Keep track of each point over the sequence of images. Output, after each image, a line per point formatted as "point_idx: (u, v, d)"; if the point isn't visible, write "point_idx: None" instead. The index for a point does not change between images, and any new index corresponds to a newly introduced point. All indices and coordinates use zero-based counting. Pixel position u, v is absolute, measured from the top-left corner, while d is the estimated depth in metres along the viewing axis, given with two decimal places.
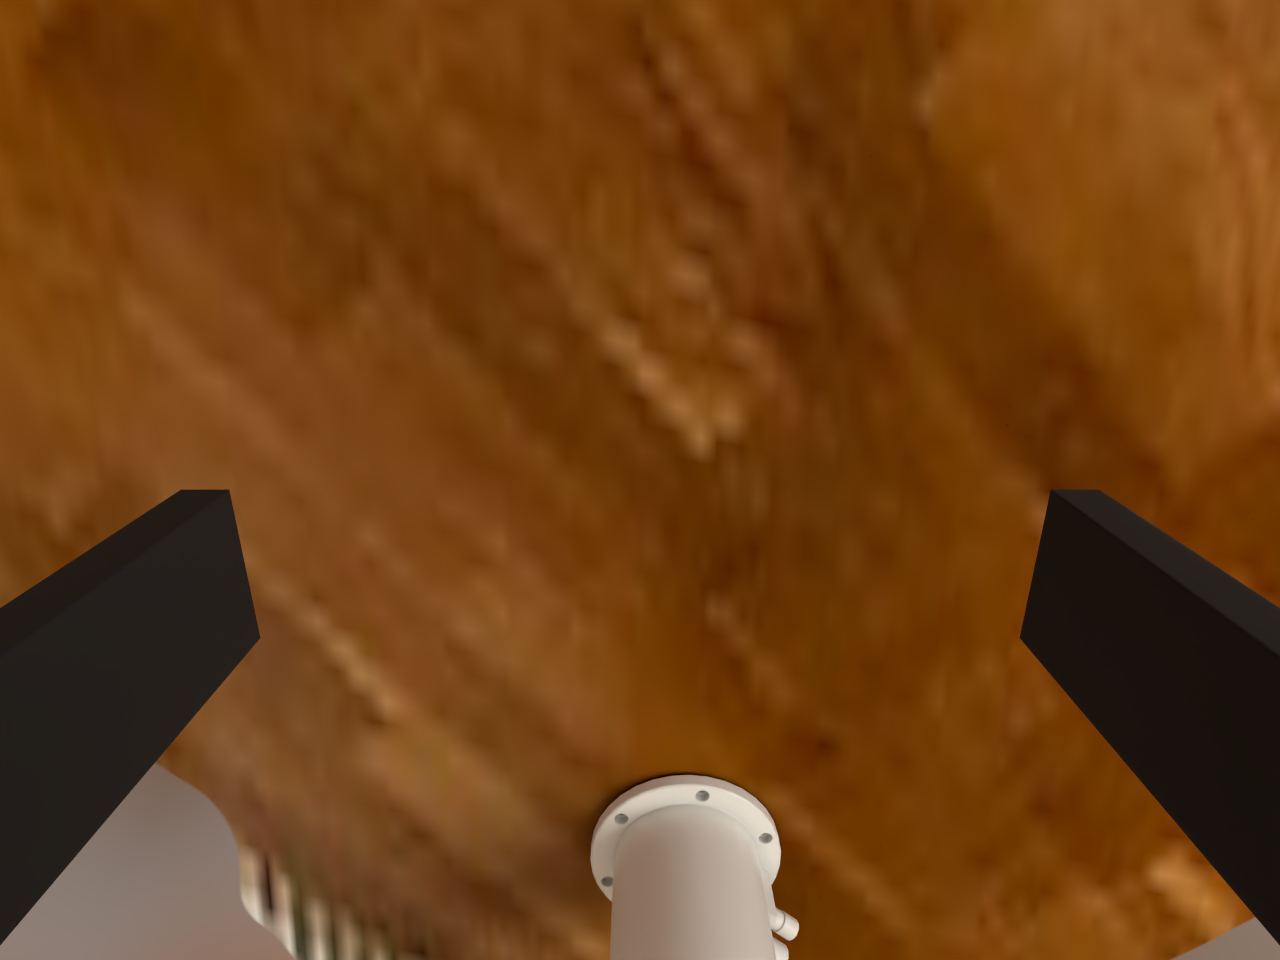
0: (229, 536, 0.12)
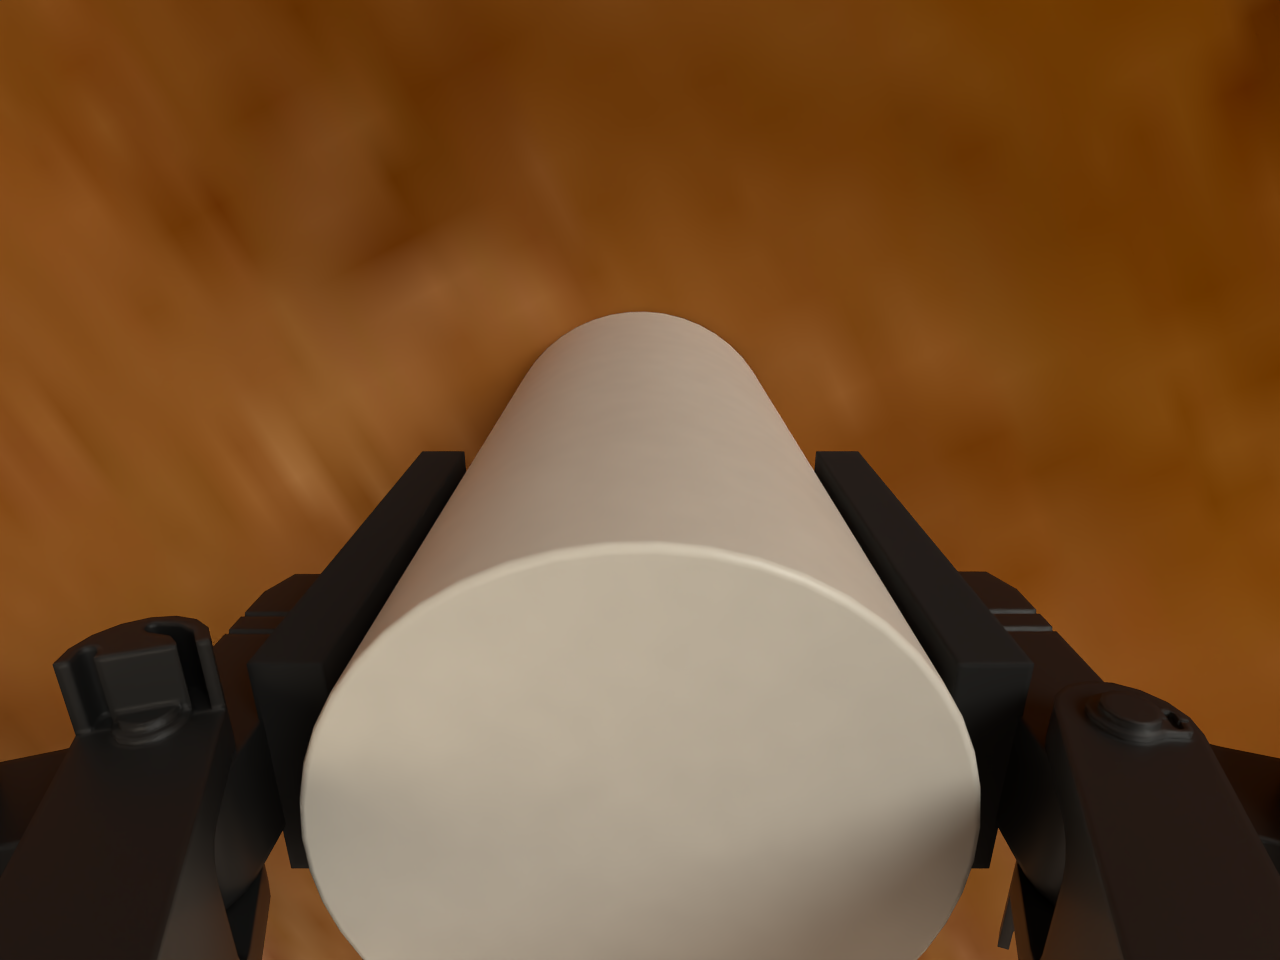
0: None
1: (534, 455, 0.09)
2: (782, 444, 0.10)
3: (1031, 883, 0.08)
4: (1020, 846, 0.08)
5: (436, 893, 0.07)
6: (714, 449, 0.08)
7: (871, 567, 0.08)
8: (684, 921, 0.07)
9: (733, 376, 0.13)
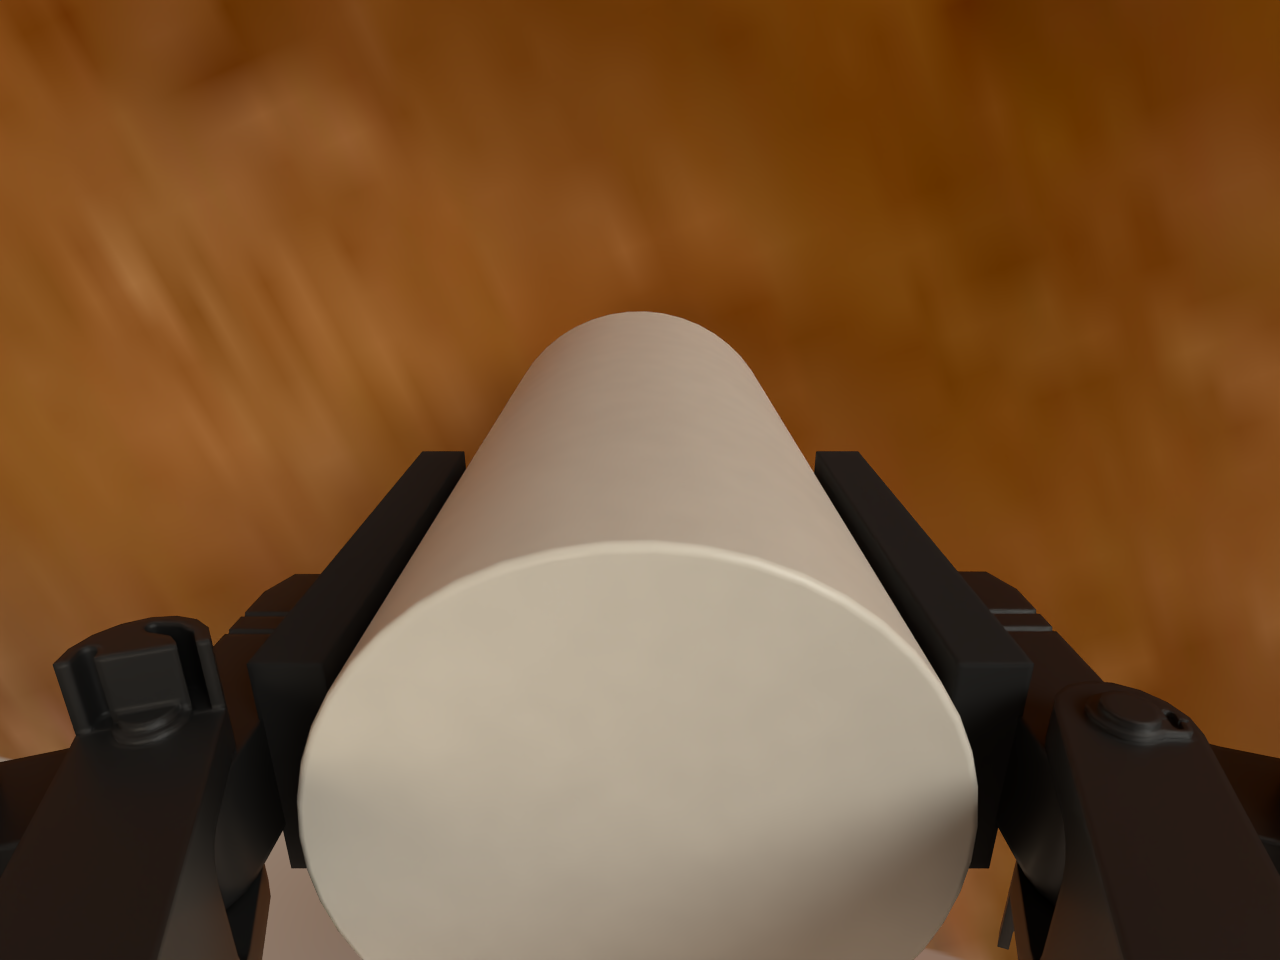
0: None
1: (531, 454, 0.09)
2: (780, 443, 0.10)
3: (1033, 883, 0.08)
4: (1020, 846, 0.08)
5: (435, 893, 0.07)
6: (712, 449, 0.08)
7: (869, 566, 0.08)
8: (682, 920, 0.07)
9: (732, 376, 0.13)
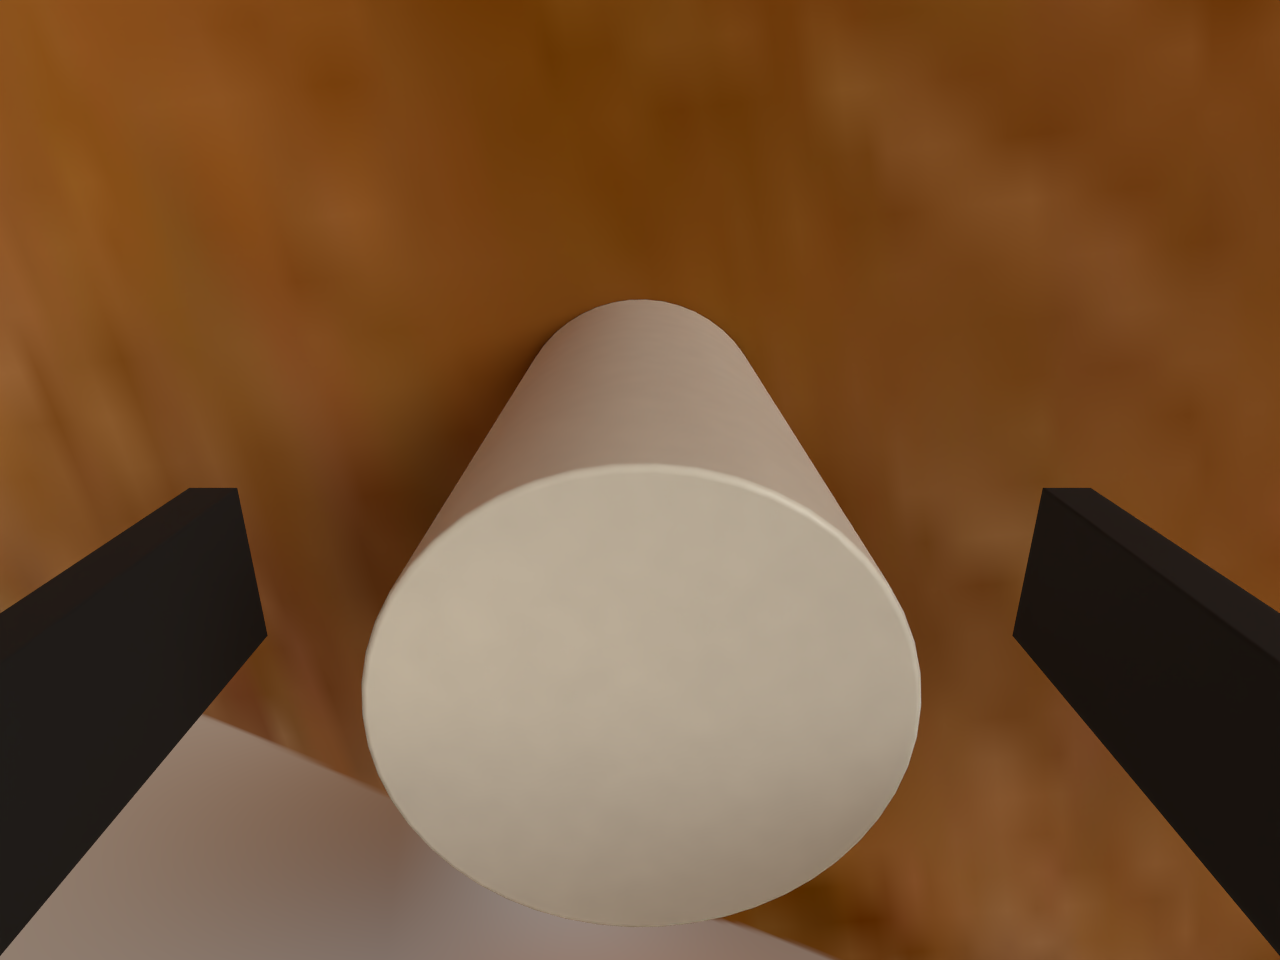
0: (236, 534, 0.12)
1: (551, 411, 0.10)
2: (764, 407, 0.12)
3: None
4: None
5: (473, 766, 0.09)
6: (704, 404, 0.10)
7: (836, 502, 0.10)
8: (678, 790, 0.09)
9: (724, 353, 0.15)
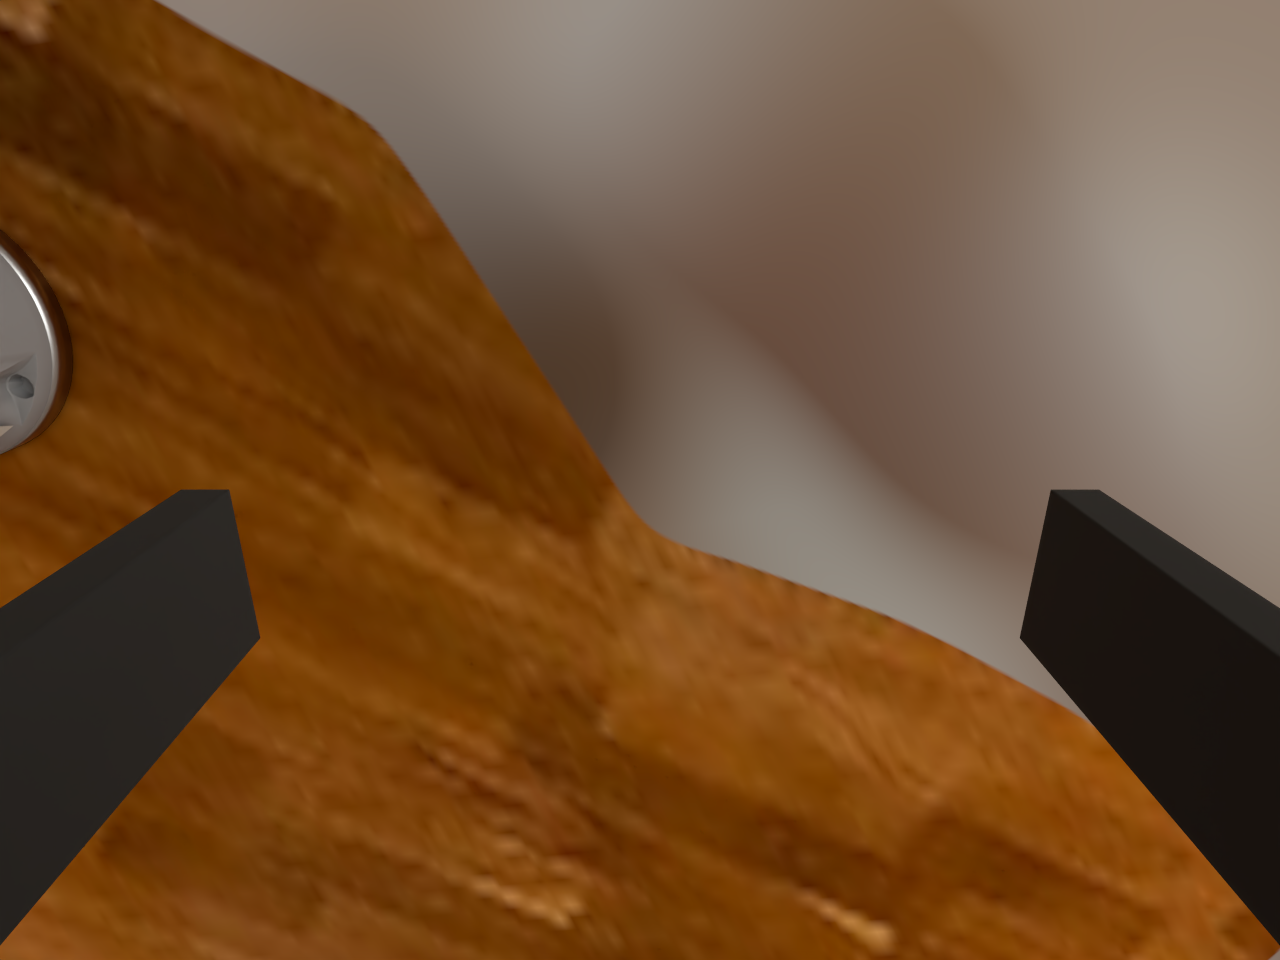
0: (228, 536, 0.12)
1: None
2: None
3: None
4: None
5: None
6: None
7: None
8: None
9: None
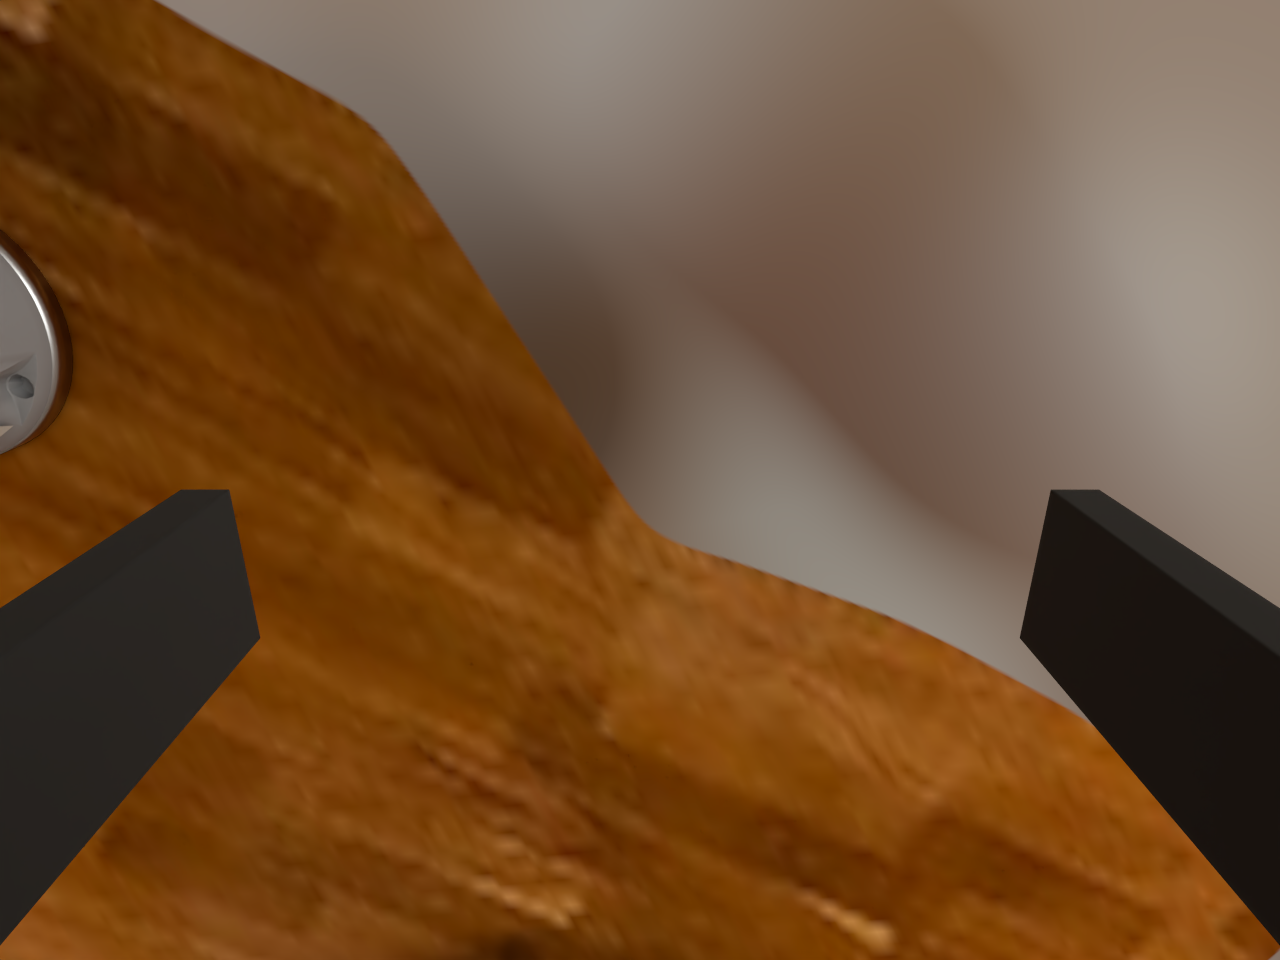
0: (228, 536, 0.12)
1: None
2: None
3: None
4: None
5: None
6: None
7: None
8: None
9: None
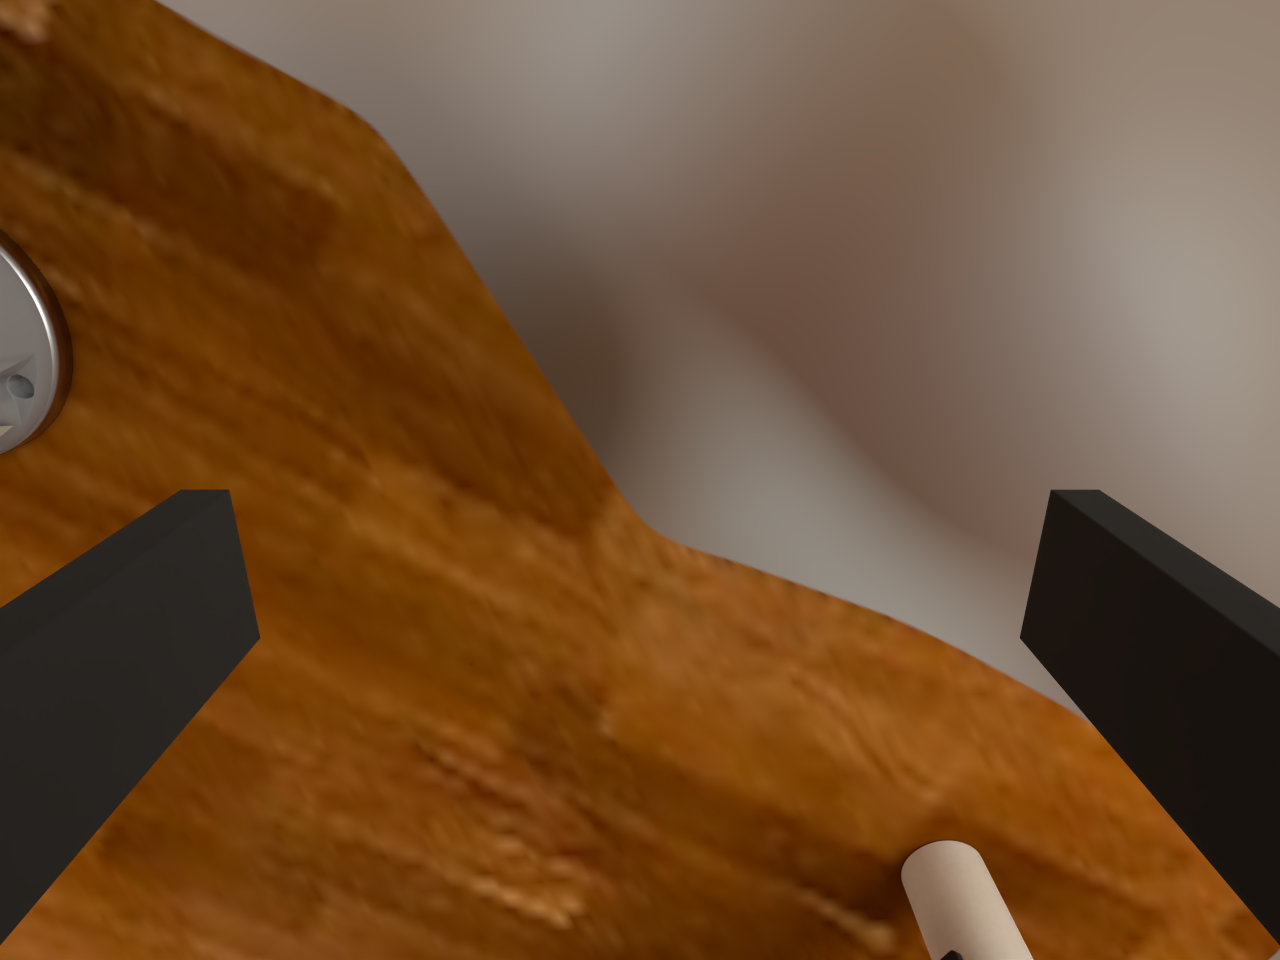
0: (228, 536, 0.12)
1: None
2: None
3: None
4: None
5: None
6: None
7: None
8: None
9: None
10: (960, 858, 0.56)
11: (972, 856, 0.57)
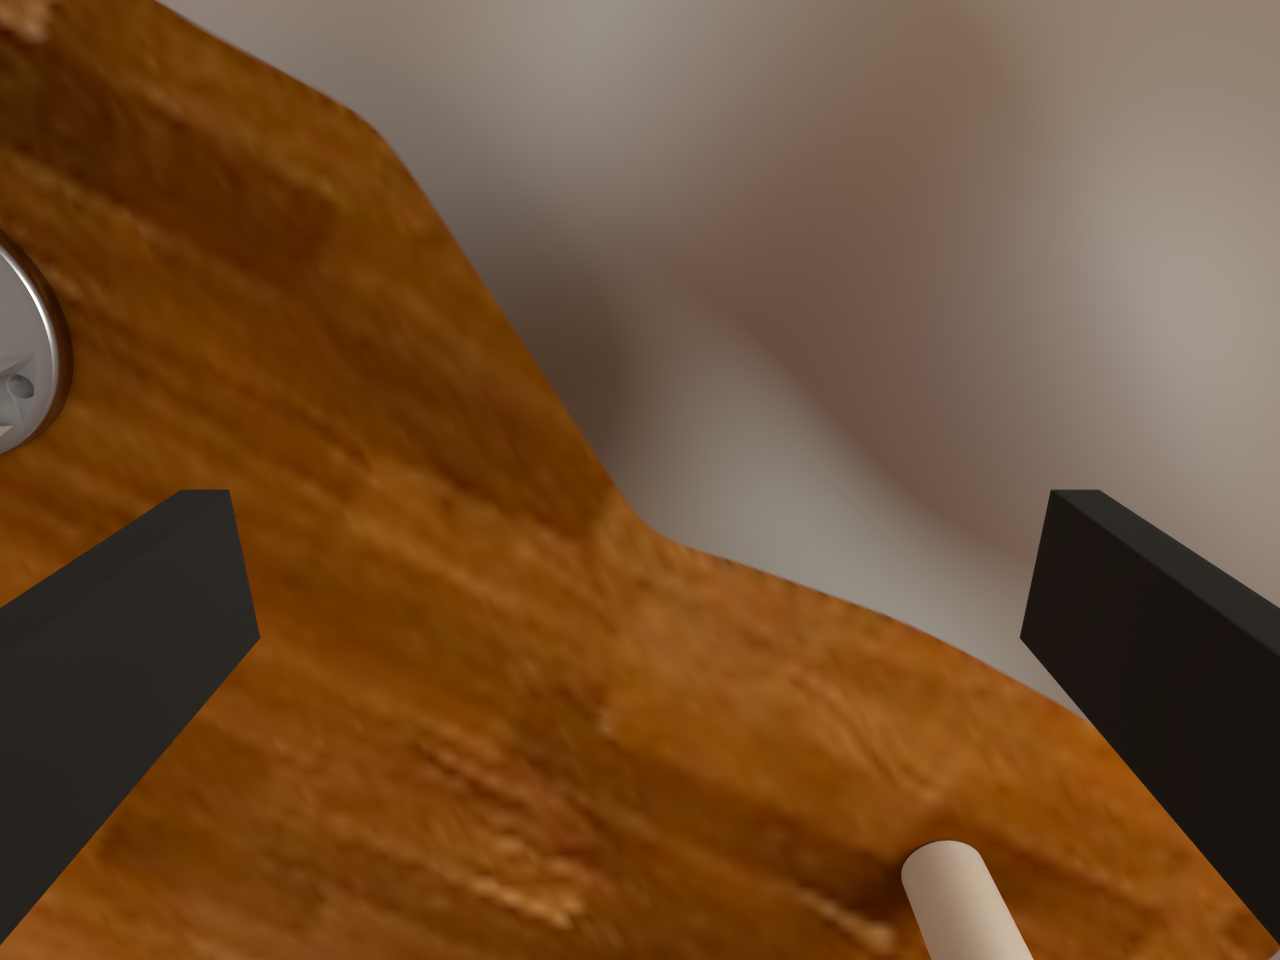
0: (228, 536, 0.12)
1: None
2: None
3: None
4: None
5: None
6: None
7: None
8: None
9: None
10: (960, 858, 0.56)
11: (972, 856, 0.57)
